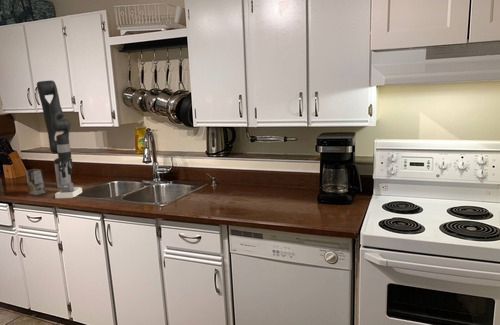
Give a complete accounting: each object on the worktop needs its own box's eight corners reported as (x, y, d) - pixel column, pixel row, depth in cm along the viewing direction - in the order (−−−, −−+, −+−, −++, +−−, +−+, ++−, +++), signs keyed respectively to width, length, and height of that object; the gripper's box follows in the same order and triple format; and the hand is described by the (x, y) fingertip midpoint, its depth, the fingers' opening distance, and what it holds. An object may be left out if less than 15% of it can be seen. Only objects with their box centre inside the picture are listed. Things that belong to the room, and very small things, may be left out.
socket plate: (65, 192, 249) (65, 187, 249) (82, 192, 250) (81, 186, 249) (55, 198, 236) (54, 192, 235) (73, 197, 236) (72, 192, 235)
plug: (66, 193, 244) (65, 182, 243) (74, 193, 244) (72, 182, 243) (62, 195, 239) (61, 184, 238) (70, 195, 239) (69, 184, 238)
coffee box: (45, 193, 250) (42, 169, 248) (36, 195, 245) (32, 171, 242) (37, 191, 255) (34, 168, 252) (28, 193, 249) (25, 170, 247)
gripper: (63, 149, 243) (66, 173, 247) (52, 153, 230) (55, 178, 233) (74, 149, 244) (77, 173, 247) (65, 152, 230) (68, 178, 233)
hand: (67, 175), depth 240 cm, fingers open, 8 cm apart
